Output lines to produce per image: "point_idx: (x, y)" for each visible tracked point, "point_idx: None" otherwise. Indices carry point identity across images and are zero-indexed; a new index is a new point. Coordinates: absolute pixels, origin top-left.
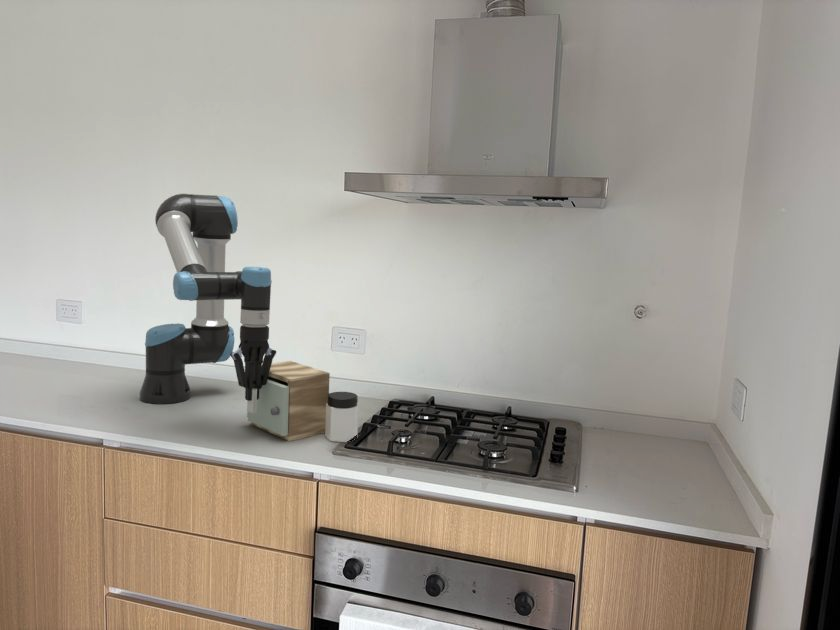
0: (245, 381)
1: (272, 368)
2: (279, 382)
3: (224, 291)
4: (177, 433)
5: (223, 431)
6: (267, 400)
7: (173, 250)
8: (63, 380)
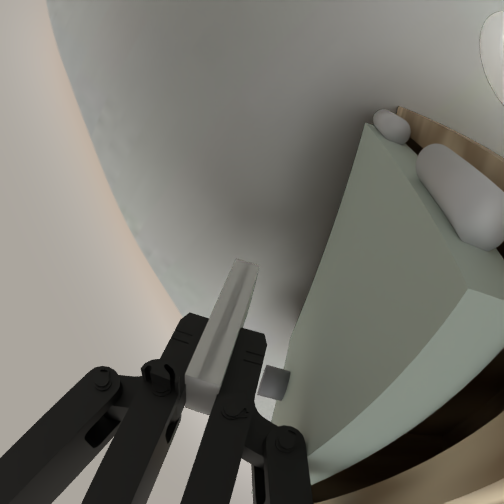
0: (106, 431)
1: (489, 499)
2: None
3: None
4: (109, 10)
5: (236, 88)
6: (304, 369)
7: None
8: None
